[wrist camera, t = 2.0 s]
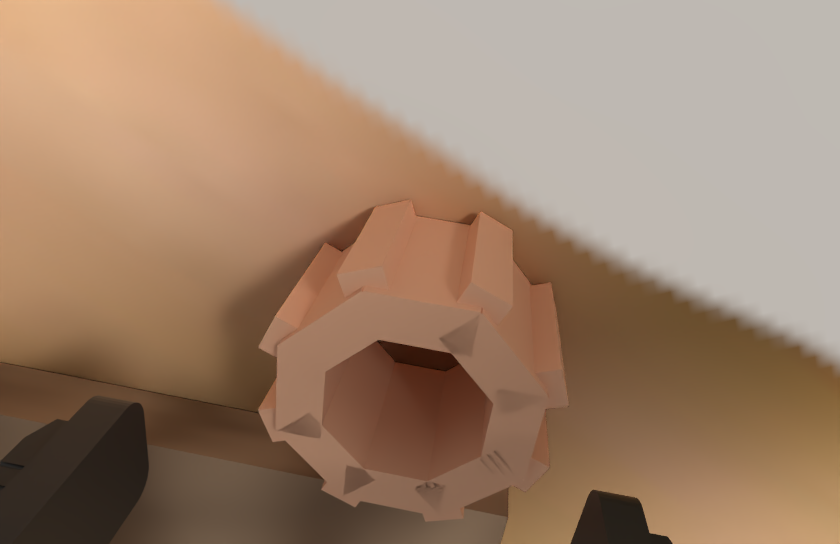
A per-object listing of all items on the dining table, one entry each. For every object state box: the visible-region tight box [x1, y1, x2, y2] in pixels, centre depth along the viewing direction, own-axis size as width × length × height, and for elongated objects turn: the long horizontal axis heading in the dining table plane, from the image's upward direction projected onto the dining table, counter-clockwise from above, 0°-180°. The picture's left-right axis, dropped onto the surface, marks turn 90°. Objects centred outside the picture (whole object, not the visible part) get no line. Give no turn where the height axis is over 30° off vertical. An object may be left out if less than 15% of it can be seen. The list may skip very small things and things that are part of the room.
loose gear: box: [258, 199, 569, 522], centre depth 14 cm, size 6×6×4 cm
